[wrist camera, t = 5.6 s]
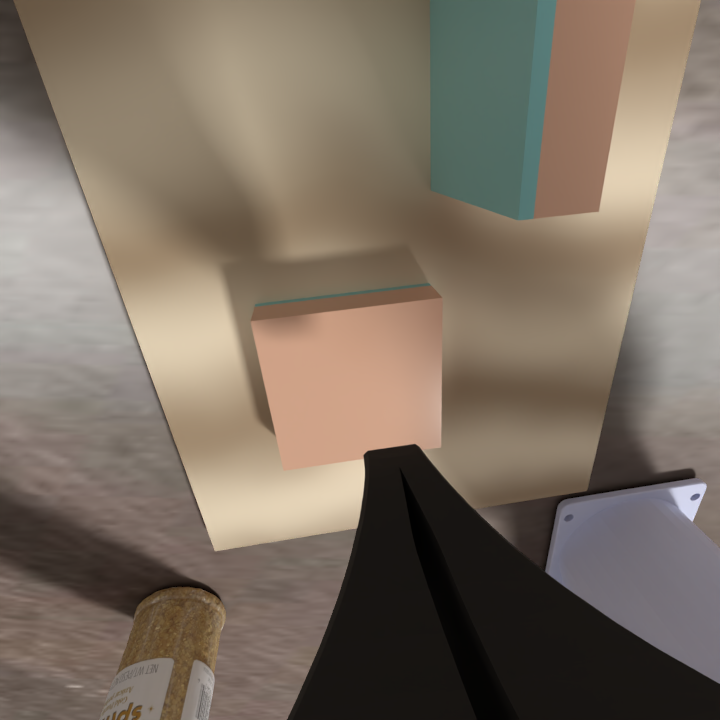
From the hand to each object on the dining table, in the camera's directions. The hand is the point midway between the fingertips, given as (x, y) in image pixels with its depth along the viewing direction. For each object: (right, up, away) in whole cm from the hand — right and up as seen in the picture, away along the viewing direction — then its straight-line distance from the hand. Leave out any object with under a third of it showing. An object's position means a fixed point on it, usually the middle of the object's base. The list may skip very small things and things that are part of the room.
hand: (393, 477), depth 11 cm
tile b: (+2, +11, +1) cm, 11 cm away
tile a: (+2, +3, +5) cm, 6 cm away
